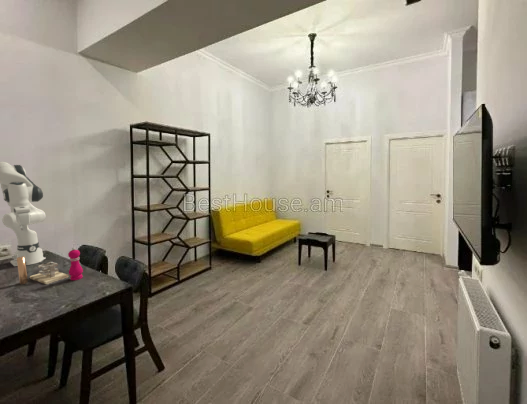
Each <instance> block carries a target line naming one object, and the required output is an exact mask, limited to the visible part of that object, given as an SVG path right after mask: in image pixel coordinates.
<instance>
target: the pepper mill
mask: <svg viewBox="0 0 527 404" xmlns="http://www.w3.org/2000/svg"><path fill="white" fill-rule="evenodd" d="M80 255H81V252H80V250H78V249H76V247H72V248H71V250H69V251H68V254H67V256H68V257H69V261H70V267H69V270H68V276H70V277H69V278H70V281H78V280H81V279H83V277H84V276H83V273H84V269H83V267H82V266H81V263H80Z"/></svg>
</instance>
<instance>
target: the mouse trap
mask: <svg viewBox="0 0 527 404" xmlns="http://www.w3.org/2000/svg"><path fill="white" fill-rule="evenodd" d="M57 267H59V263H57V262H53V261H49V262H43V263H42V264H38V265H37V268H38V269H40V270H38V273H37V274H33V275H29V279H31V280H33V281H36V282H39V283H42V284H45V285H49V284H52V283H55V282H59V281H60V280H64V279H67V278H70V277H69V276H70V275H69V274H66V273H63V272H60V270H59V268H57Z"/></svg>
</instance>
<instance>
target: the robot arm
mask: <svg viewBox="0 0 527 404" xmlns="http://www.w3.org/2000/svg"><path fill="white" fill-rule="evenodd" d="M0 187H1V191H2V194H3V201H5V202H6V203H7V206H9V208H10V212H8V213H5V214H4V215H3V216H2V219H1V220H2V224H3V225H4V227H7V228H9V229H11V230H12V231H13V232H14V233H15V235H16V240H17V247H16V252H14V254H13V255H12V256H11V260H10V264H11V265H12V266H13V267H18V265H17V258H18V257H22V256H24V257H25V262H26V266H29V265H35V264H38V263H42V262H43V261H44V260H46V256H45V257H44V253H43V249H42V248H41V247H40V243H39V239H38V233H37V232H36V231H35V230H34V229H30V228H29V225H36V224H39V223H42V222H44V221H45V220H46V217H47V216H46V215H47V214H46V213H45V211H44V210H43V209H40V208H37V207H36V206H34V205H33V204H32V203H31V202H33V203H36V202H39V201H41V200H42V199H43V198H44V193H43V191H42V188H40V186H38V185H36V184H35V183H34V181H32V180H31V179H30V178H29V177H28V176H27V171H26V169H25V167H24V166H22V165H21V164H14V165H11V163H9V162H6V161H0Z"/></svg>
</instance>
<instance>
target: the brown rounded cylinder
mask: <svg viewBox="0 0 527 404" xmlns="http://www.w3.org/2000/svg"><path fill="white" fill-rule="evenodd" d="M17 265H18V266H17V272H18V278H19V279H18V280H19V284H20V285H25V284H27V283H28V282H29V281H28V273H27V271H28V270H27V265H26V262H25V257H24V256H22V257H18V258H17Z"/></svg>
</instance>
